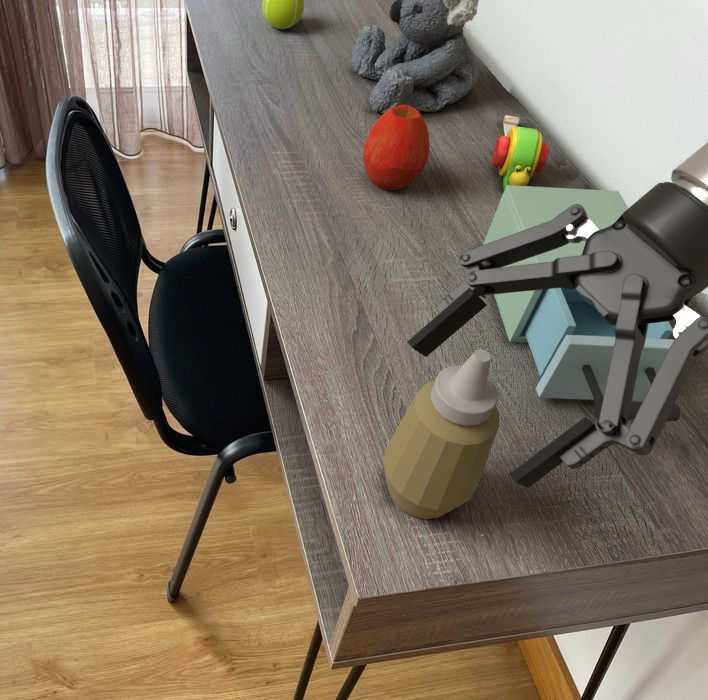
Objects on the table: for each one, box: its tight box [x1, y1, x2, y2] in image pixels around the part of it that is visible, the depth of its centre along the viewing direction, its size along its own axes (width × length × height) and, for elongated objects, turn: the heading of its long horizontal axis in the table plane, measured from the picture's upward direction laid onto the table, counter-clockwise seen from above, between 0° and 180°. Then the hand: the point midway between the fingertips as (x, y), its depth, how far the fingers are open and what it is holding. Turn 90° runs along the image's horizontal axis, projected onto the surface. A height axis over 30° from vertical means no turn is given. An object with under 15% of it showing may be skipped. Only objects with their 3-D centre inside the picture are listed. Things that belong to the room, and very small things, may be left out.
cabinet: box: [482, 185, 629, 344], centre depth 79 cm, size 15×13×10 cm
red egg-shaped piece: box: [362, 105, 430, 191], centre depth 92 cm, size 8×8×11 cm
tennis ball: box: [261, 0, 305, 30], centre depth 122 cm, size 7×7×7 cm
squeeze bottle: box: [382, 348, 500, 520], centre depth 58 cm, size 8×8×18 cm
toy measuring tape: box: [491, 114, 550, 191], centre depth 99 cm, size 6×20×7 cm, turn 167°
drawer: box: [523, 288, 682, 423], centre depth 72 cm, size 19×11×8 cm, turn 0°
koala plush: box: [351, 0, 480, 115], centre depth 106 cm, size 17×18×20 cm
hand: (463, 411), depth 57 cm, fingers open, 13 cm apart
